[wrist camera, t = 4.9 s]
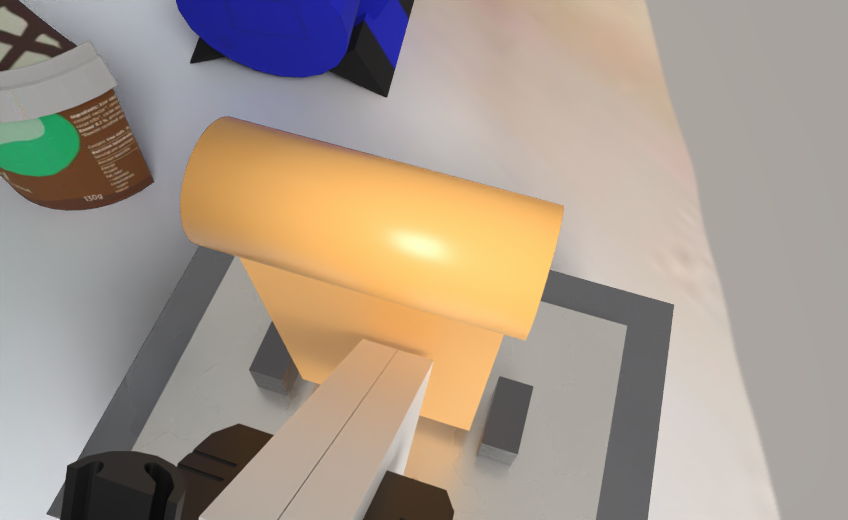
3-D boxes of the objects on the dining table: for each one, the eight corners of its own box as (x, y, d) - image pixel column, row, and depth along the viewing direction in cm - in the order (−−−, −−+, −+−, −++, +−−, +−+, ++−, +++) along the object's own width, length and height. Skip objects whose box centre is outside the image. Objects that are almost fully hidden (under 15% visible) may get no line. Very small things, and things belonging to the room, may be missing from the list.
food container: (-69, 147, 36) (-218, -12, 27) (30, 85, 38) (-77, -79, 30) (74, 275, 32) (-45, 138, 23) (173, 196, 35) (99, 46, 26)
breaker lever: (475, 451, 18) (540, 308, 9) (286, 392, 19) (164, 200, 10) (494, 377, 19) (572, 178, 10) (314, 323, 20) (227, 88, 10)
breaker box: (549, 696, 24) (646, 726, 15) (151, 554, 26) (13, 501, 17) (601, 393, 30) (694, 278, 21) (274, 295, 32) (224, 150, 22)
